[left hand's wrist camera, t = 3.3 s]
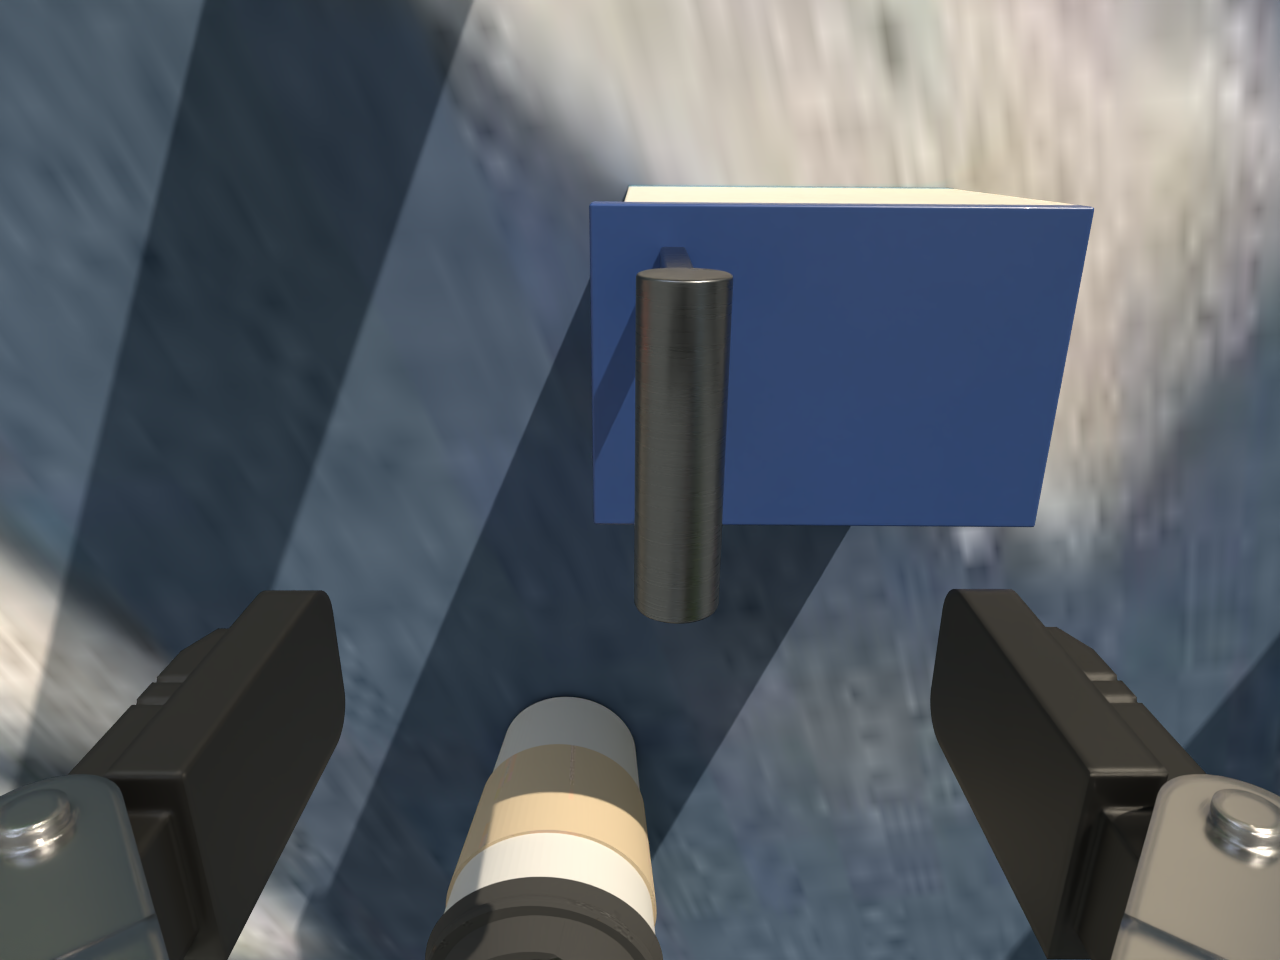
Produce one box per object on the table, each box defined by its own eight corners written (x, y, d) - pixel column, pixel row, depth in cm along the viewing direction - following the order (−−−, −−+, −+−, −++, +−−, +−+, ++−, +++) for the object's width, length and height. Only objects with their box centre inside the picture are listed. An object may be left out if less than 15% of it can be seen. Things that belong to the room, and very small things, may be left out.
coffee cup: (572, 848, 47) (543, 1148, 33) (445, 751, 44) (355, 1030, 30) (693, 752, 44) (718, 1031, 30) (566, 645, 42) (529, 893, 28)
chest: (628, 413, 38) (623, 512, 28) (628, 185, 34) (622, 200, 24) (918, 415, 38) (1022, 515, 28) (947, 187, 35) (1078, 204, 24)
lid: (594, 512, 28) (576, 660, 20) (590, 201, 24) (566, 227, 16) (1022, 515, 28) (1177, 664, 20) (1079, 204, 24) (1295, 232, 16)
